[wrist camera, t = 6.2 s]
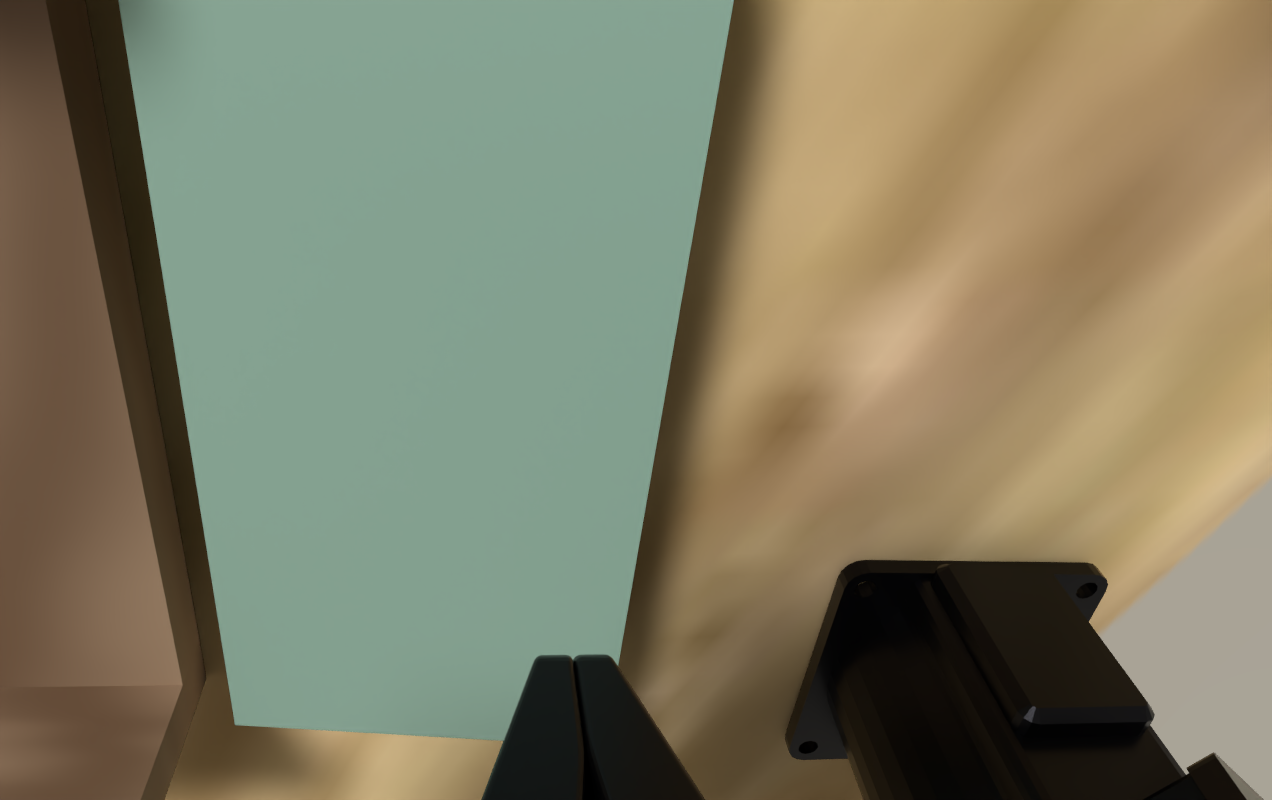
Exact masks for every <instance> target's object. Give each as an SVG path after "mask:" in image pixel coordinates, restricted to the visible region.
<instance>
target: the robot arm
mask: <svg viewBox="0 0 1272 800" xmlns="http://www.w3.org/2000/svg"><path fill="white" fill-rule="evenodd" d="M865 581H866V582H865ZM861 582H865V583H863V584H860V583H861ZM858 584H860V585H858ZM1107 586H1108V583H1107V580H1106V578H1105V577H1104V576H1103V575H1102V573H1101V572H1100V571H1099V570H1098V568H1097V567H1096V566H1094V565H1093V564H1090V563H1064V562H977V561H891V560H863V561H856V562H854V563H852V564H850V565H848V566H847V567H845V568H844V569H843V570H842V571H841V573H840V575H839V576H838V579H837V582H836V585H835V588H834V591H833V594H832V597H831V600H830V603H829V606H828V609H827V612H826V615H825V618H824V621H823V624H822V627H821V630H820V633H819V636H818V639H817V642H816V645H815V648H814V651H813V654H812V657H811V660H810V663H809V666H808V669H807V672H806V675H805V678H804V680H803V683H802V686H801V689H800V692H799V695H798V698H797V701H796V704H795V707H794V710H793V713H792V716H791V719H790V722H789V725H788V728H787V731H786V734H785V740H786V744H787V747H788V750H789V753H790V754H791V756H792V757H794V758H796V759H801V760H815V759H849V761H850V764H851V767H852V770H853V772H854V775H855V778H856V780H857V783H858V786H859V788H860V791H861V794H862V797H863V799H864V800H1263V798H1261V797H1260V796H1259V795H1258V794H1257V793H1256V792H1255V791H1254V790H1253V789H1252V788H1251V787H1250V786H1249V785H1248V784H1247V783H1246V782H1245V781H1244V780H1243V779H1242V778H1241V777H1239V776H1238V775H1237V774H1236V773H1235V772H1234V771H1233V770H1232V769H1231V768H1230V767H1229V766H1228V765H1227V764H1226V763H1225V762H1224V761H1223V760H1222V759H1221V758H1219V757H1218V756H1217V755H1216V754H1215V753H1212V754H1210V755H1208V756H1206V757H1205V758H1203V759H1201V760H1199V761H1198V762H1196V763H1194V764H1192V765H1191V766H1189V767H1187V770H1188V772H1189V774H1187V775H1185V773H1184V772H1183V770H1182V769H1181V768H1180V766H1179V765H1178V763H1177V762H1176V761H1175V759H1174V758H1173V756H1172V755H1171V754H1170V752H1169V751H1168V749H1167V748H1166V747H1165V745H1164V744H1163V743H1162V741H1161V740H1160V738H1159V737H1158V736H1157V734H1156V733H1155V732H1154V730H1153V729H1152V727H1151V726H1150V724H1151V722H1152V720H1153V718H1154V713H1153V710H1152V708H1151V707H1150V705H1149V704H1148V702H1147V701H1146V700H1145V698H1144V697H1143V696H1142V694H1141V693H1140V691H1139V690H1138V689H1137V687H1136V686H1135V685H1134V683H1133V682H1132V681H1131V679H1130V678H1129V676H1128V675H1127V674H1126V672H1125V671H1124V670H1123V668H1122V667H1121V666H1120V664H1119V663H1118V661H1117V660H1116V659H1115V657H1114V656H1113V655H1112V653H1111V652H1110V651H1109V649H1108V648H1107V646H1106V645H1105V644H1104V643H1103V641H1102V640H1101V638H1100V637H1099V636H1098V634H1097V633H1096V631H1095V630H1094V629H1093V627H1092V626H1091V625H1090V623H1089V620H1090V619H1091V617H1092V615H1093V613H1094V611H1095V610H1096V608H1097V606H1098V604H1099V602H1100V601H1101V599H1102V597H1103V595H1104V593H1105V592H1106V589H1107ZM481 800H705V799H704V797H703V796H702V794H701V793H700V791H699V790H698V788H697V787H696V785H695V783H694V782H693V780H692V779H691V777H690V776H689V774H688V773H687V771H686V770H685V768H684V767H683V765H682V764H681V762H680V760H679V759H678V757H677V756H676V754H675V753H674V751H673V750H672V748H671V747H670V745H669V744H668V742H667V741H666V739H665V737H664V736H663V734H662V733H661V731H660V730H659V728H658V727H657V725H656V724H655V722H654V721H653V719H652V718H651V716H650V714H649V713H648V711H647V710H646V708H645V707H644V705H643V704H642V702H641V701H640V699H639V698H638V696H637V695H636V693H635V691H634V690H633V688H632V687H631V685H630V684H629V682H628V681H627V679H626V678H625V676H624V675H623V673H622V672H621V670H620V668H619V667H618V665H617V664H616V662H615V661H614V660H613V658H612V657H610V656H609V655H605V654H584V655H577V656H576V657H575V658H574V659H572V658H571V657H570V656H569V655H539V656H538V657H536V658H535V660H534V662H533V664H532V667H531V670H530V672H529V675H528V678H527V680H526V683H525V685H524V688H523V691H522V693H521V696H520V699H519V701H518V704H517V707H516V709H515V712H514V715H513V717H512V720H511V723H510V725H509V728H508V731H507V733H506V736H505V739H504V741H503V744H502V746H501V749H500V752H499V754H498V757H497V760H496V762H495V765H494V768H493V770H492V773H491V776H490V778H489V781H488V784H487V786H486V789H485V792H484V794H483V797H482V799H481Z"/></svg>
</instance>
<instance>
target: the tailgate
mask: <svg viewBox="0 0 1272 800" xmlns="http://www.w3.org/2000/svg"><path fill="white" fill-rule="evenodd" d="M118 1H119V7H120V14H121V20H122V26H123V32H124V38H125V45H126V51H127V57H128V63H129V69H130V76H131V82H132V88H133V94H134V101H135V107H136V113H137V119H138V125H139V132H140V138H141V144H142V150H143V156H144V163H145V169H146V175H147V181H148V188H149V194H150V200H151V206H152V212H153V219H154V225H155V231H156V237H157V244H158V250H159V256H160V262H161V268H162V275H163V281H164V287H165V293H166V299H167V306H168V312H169V318H170V324H171V331H172V337H173V343H174V349H175V355H176V362H177V368H178V374H179V380H180V386H181V393H182V399H183V405H184V411H185V418H186V424H187V430H188V436H189V442H190V449H191V455H192V461H193V467H194V473H195V480H196V486H197V492H198V498H199V505H200V511H201V517H202V523H203V529H204V536H205V542H206V548H207V554H208V561H209V567H210V573H211V579H212V585H213V592H214V598H215V604H216V610H217V616H218V623H219V629H220V635H221V641H222V648H223V654H224V660H225V666H226V672H227V679H228V685H229V691H230V697H231V703H232V710H233V716H234V722H235V725H243V726H260V727H277V728H294V729H311V730H329V731H346V732H363V733H380V734H397V735H415V736H432V737H449V738H466V739H483V740H500V741H504V739H505V736H506V733H507V731H508V728H509V725H510V723H511V720H512V717H513V715H514V712H515V709H516V707H517V704H518V701H519V699H520V696H521V693H522V691H523V688H524V685H525V683H526V680H527V678H528V675H529V672H530V670H531V667H532V664H533V662H534V660H535V658H536V657H538V656H539V655H569V656H570V657H571V658H572V659H574V658H575V657H576V656H577V655H584V654H605V655H609V656H610V657H612V658H613V660H614V661H615V662H616V664H617V665H618V664H619V658H620V652H621V647H622V641H623V635H624V629H625V624H626V618H627V612H628V606H629V601H630V595H631V589H632V583H633V578H634V572H635V566H636V560H637V555H638V549H639V543H640V537H641V532H642V526H643V520H644V514H645V508H646V503H647V497H648V491H649V485H650V480H651V474H652V468H653V462H654V457H655V451H656V445H657V439H658V434H659V428H660V422H661V416H662V411H663V405H664V399H665V393H666V388H667V382H668V376H669V370H670V365H671V359H672V353H673V347H674V342H675V336H676V330H677V324H678V319H679V313H680V307H681V301H682V296H683V290H684V284H685V278H686V273H687V267H688V261H689V255H690V250H691V244H692V238H693V232H694V227H695V221H696V215H697V209H698V204H699V198H700V192H701V186H702V181H703V175H704V169H705V163H706V158H707V152H708V146H709V140H710V135H711V129H712V123H713V117H714V112H715V106H716V100H717V94H718V89H719V83H720V77H721V71H722V66H723V60H724V54H725V48H726V43H727V37H728V31H729V25H730V20H731V14H732V8H733V2H734V0H118Z"/></svg>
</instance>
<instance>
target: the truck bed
mask: <svg viewBox="0 0 1272 800" xmlns="http://www.w3.org/2000/svg"><path fill="white" fill-rule="evenodd" d="M205 681H206V673H205V668H204V662H203V657H202V651H201V645H200V640H199V634H198V629H197V623H196V618H195V612H194V606H193V601H192V595H191V590H190V584H189V578H188V573H187V567H186V562H185V556H184V551H183V545H182V539H181V534H180V528H179V523H178V517H177V511H176V506H175V500H174V495H173V489H172V483H171V478H170V472H169V467H168V461H167V456H166V450H165V444H164V439H163V433H162V428H161V422H160V416H159V411H158V405H157V400H156V394H155V389H154V383H153V377H152V372H151V366H150V361H149V355H148V349H147V344H146V338H145V333H144V327H143V322H142V316H141V310H140V305H139V299H138V294H137V288H136V282H135V277H134V271H133V266H132V260H131V254H130V249H129V243H128V238H127V232H126V227H125V221H124V215H123V210H122V204H121V199H120V193H119V187H118V182H117V176H116V171H115V165H114V160H113V154H112V148H111V143H110V137H109V132H108V126H107V120H106V115H105V109H104V104H103V98H102V93H101V87H100V81H99V76H98V70H97V65H96V59H95V53H94V48H93V42H92V37H91V31H90V26H89V20H88V14H87V9H86V3H85V0H0V800H165V797H166V794H167V791H168V788H169V785H170V782H171V779H172V777H173V774H174V771H175V768H176V765H177V762H178V759H179V756H180V753H181V750H182V747H183V745H184V742H185V739H186V736H187V733H188V730H189V727H190V724H191V721H192V718H193V715H194V713H195V710H196V707H197V704H198V701H199V698H200V695H201V692H202V689H203V686H204V683H205Z"/></svg>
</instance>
